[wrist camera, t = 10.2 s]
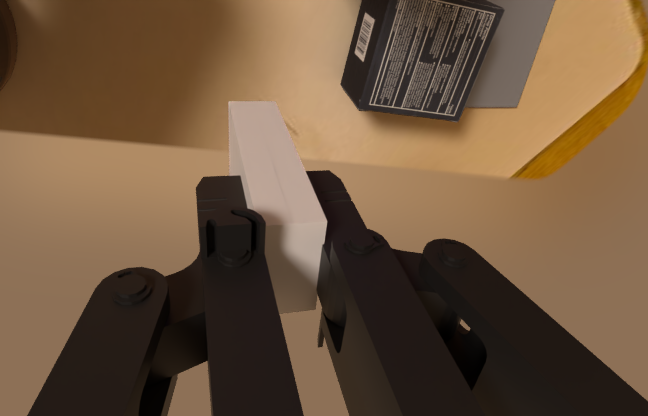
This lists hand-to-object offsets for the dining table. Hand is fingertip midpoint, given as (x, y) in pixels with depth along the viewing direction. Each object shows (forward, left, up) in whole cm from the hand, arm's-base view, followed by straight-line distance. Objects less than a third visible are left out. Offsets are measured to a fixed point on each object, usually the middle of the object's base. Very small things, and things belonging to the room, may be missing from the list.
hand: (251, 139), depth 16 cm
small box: (+13, -3, -25) cm, 28 cm away
